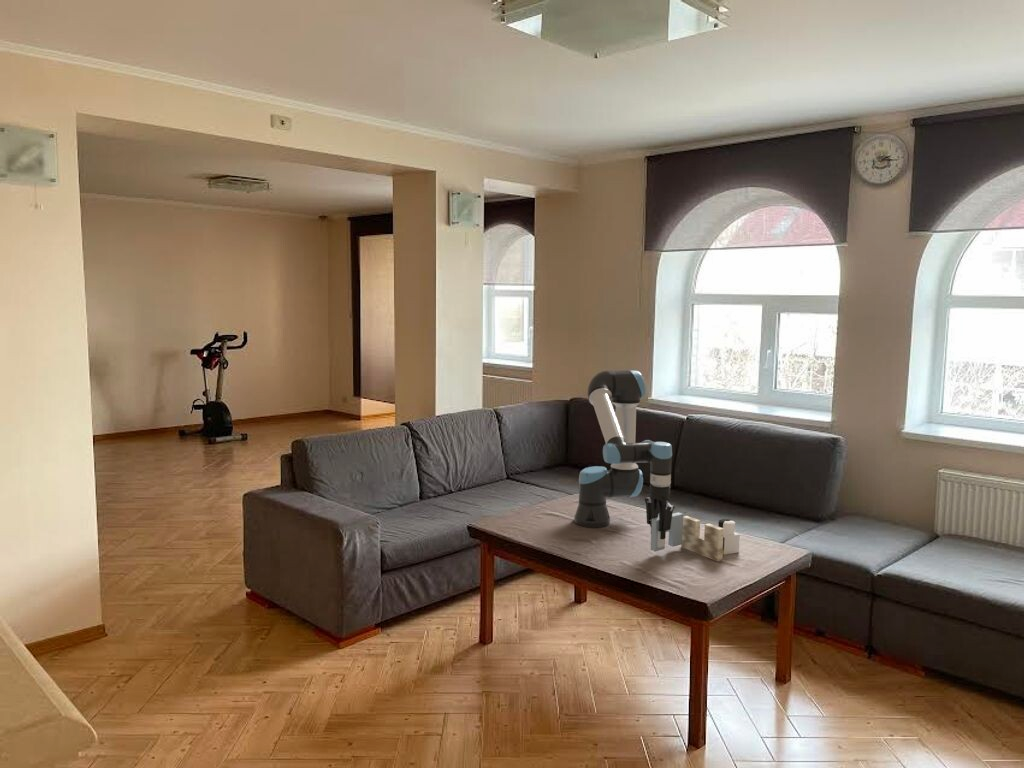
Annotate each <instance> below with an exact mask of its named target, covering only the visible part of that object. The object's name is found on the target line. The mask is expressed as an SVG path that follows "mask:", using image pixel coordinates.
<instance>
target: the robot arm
mask: <svg viewBox="0 0 1024 768" xmlns="http://www.w3.org/2000/svg"><path fill="white" fill-rule="evenodd" d="M586 393H587V399H588V402H589V403H590V404H591V405H592V406H593V408H594V411H595V414H596V417H597V421H598V425H599V426H600V430H601V434H602V436H603V438H604V442H605V444H604V445H603V447H602V457H603V460H604V462H605V463H607V464H610V469H607V467H606V466H602V465H601V466H598V465H596V466H595V465H594V466H588V467H585V468H583V469H582V470H580V472H579V477H578V505H577V508H576V512H575V514H574V517H573V522H574V524H576V525H578V526H580V527H586V528H603V527H607V526H609V525H610V524H611V516H610V513H609V510H608V506H607V499H612V498H613V499H615V498H616V499H617V498H633V497H637V496H639V495H640V493H641V492H642V490H643V489H642V488H643V486H644V485H643V484H644V477H643V475H644V474H643V472H642V470H641V469H639V465H638V463H640V464H641V463H648V464H649V465H650V467H649V468H650V469H649V471H650V472H649V474H650V475H649V483H650V484H649V497H645V498H644V503H645V510H646V511H645V513H646V524H647V525H649V526H650V527H651V524H652V518H657V517H659V525H660V529H659V530H658V542H657V547H658V548H660V547H664V539H665V540H666V533H667V532H666V531H667V530H670V528H671V520H672V514H673V513H674V510H675V505H671V503H670V499H669V498H670V495H671V484H672V480H671V479H672V462H673V461H672V460H673V459H672V458H673V447H672V446H673V445H672V444H671V443H669V442H665V441H652V440H650V439H645V440H642V441H641V442H636V433H637V431H636V428H637V426H636V425H637V406H639V405H640V403H641V399H643V398H644V397H645V395H646V384H645V379H644V377H643V375H642V373H641V372H640V371H639V370H630V369H629V370H628V369H625V370H601V371H600V372H598V373H596V374H595V375H594V376H593V377H592V378H591V379H590V380H589V384H588V386H587V392H586ZM614 406H615V407H614Z"/></svg>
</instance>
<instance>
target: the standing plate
mask: <svg viewBox="0 0 1024 768" xmlns="http://www.w3.org/2000/svg"><path fill="white" fill-rule="evenodd" d="M723 531H724V528H721V527H718V525H715V524H711V523H706V524H704V534H703V535H704V536H701V535H700V534H701V520H700V519H697V518H695V517H691V516H688V515H685V516H684V515H683V533H682V544H681V546H680V547H681V548H682V549H686V550H688V551H691V552H694V553H696V554H699V555H700V556H703V557H706V558H709V559H711V560H713V561H715V562H720V561H723V554H722V553H723Z"/></svg>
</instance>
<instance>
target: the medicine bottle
mask: <svg viewBox="0 0 1024 768" xmlns="http://www.w3.org/2000/svg"><path fill="white" fill-rule="evenodd" d="M717 526H718V527H721V528H724V531H723V553H722V556H725V555H731V554H732V555H733V554H737V553H740V552H739V551H740V538H741V537H740V534H739V533H737V532H736V522H735V521H734V520H732V519H729V518H721V519H719V520H718V524H717Z"/></svg>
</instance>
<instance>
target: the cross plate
mask: <svg viewBox="0 0 1024 768" xmlns="http://www.w3.org/2000/svg"><path fill="white" fill-rule="evenodd" d="M683 517H684V513H681V512H675V513H674V512H673V513H672V520H671V528H670V530H667V531H666V533H667V532H668V541H667V542H668V546H670V547H677V546H680V545H681V544H682V533H683ZM659 529H660V525H659V516H658V517H657V518H652V524H651V526H650V551H653V552H658V551H663V550H665V545H666V543H665V542H666V538H665V539H664V547H660V548H658V547H657V542H658V530H659Z"/></svg>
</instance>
